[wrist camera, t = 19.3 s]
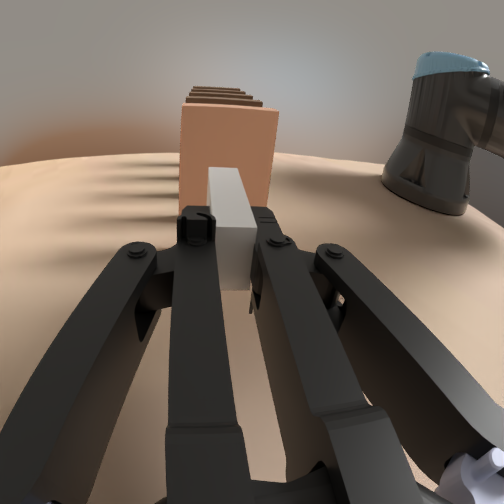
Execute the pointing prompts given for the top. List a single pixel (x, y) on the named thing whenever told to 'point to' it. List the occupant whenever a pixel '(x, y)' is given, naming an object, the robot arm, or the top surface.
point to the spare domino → (226, 149)
